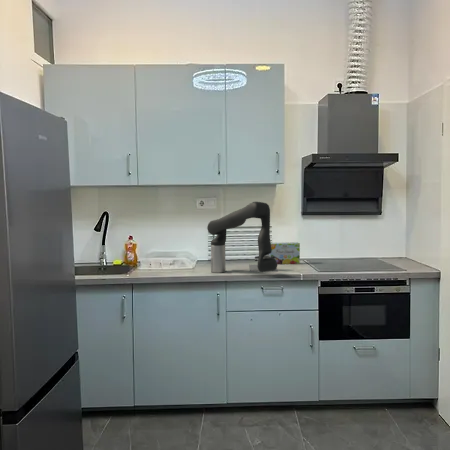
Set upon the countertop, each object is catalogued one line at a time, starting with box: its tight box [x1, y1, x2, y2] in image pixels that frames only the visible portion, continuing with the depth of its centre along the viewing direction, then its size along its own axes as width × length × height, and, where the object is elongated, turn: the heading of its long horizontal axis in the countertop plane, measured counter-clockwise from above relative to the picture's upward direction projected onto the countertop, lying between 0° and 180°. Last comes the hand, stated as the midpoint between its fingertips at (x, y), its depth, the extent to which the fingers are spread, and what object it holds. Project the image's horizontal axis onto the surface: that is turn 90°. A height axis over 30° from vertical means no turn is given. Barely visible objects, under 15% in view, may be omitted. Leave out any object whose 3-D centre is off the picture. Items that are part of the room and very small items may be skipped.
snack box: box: [269, 241, 301, 265], centre depth 303 cm, size 21×6×15 cm, turn 94°
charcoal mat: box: [248, 264, 279, 273], centre depth 283 cm, size 18×28×1 cm, turn 177°
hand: (264, 256), depth 265 cm, fingers closed
